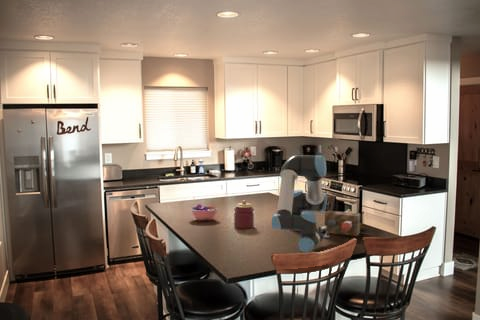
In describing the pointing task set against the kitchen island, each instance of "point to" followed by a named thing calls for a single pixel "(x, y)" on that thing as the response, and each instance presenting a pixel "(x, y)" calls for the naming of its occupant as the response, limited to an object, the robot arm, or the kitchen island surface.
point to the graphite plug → (332, 222)
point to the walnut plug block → (340, 219)
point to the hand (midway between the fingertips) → (325, 228)
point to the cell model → (204, 212)
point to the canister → (244, 216)
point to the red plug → (347, 225)
